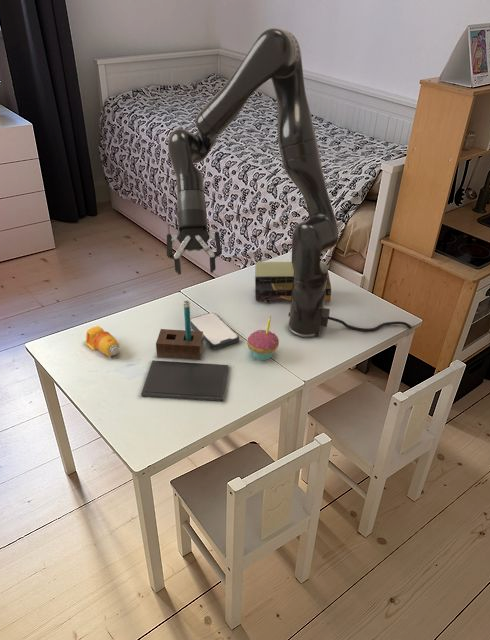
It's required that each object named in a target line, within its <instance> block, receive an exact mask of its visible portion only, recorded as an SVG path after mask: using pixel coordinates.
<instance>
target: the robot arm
mask: <svg viewBox="0 0 490 640" xmlns="http://www.w3.org/2000/svg"><path fill="white" fill-rule="evenodd" d="M300 46H301V45H300V44H299V40H298V39H297V38H296V36H295V35H294V34H293V33H292V32H290V31H289V30H285V29H282V28H277V27H271V28H268V29H265V30H264V31H262V32H261V33H260V35H259V36H258V37H257V39H256V40H255V42H254V43H253V44H252V46H251V48H250V49H249V50H248V51H247V54H246V55H245V57H244V58H243V60H242V61H241V63H240V64H239V65H238V67H237V69H236V70H235V71H234V72H233V74H232V75H231V76H230V78H228V80H227V81H226V82H225V83H224V84H223V86H222V87H221V88H220V90H218V92H217V93H216V94H214V96H213V97H212V98H211V99H210V100H209V101H208V102H207V104H205V106H204V107H202V109H201V110H200V111H199V112H198V113H197V115H196V117H195V120H194V123H195V126H196V128H197V132H195V133H193V132H192V131H189V130H187V129H184V128H177V129H174V130H173V131H172V132H171V133H170V135H169V138H168V141H167V150H168V151H167V152H168V155H169V159H170V162H171V165H172V169H173V172H174V175H175V177H176V178H175V179H176V211H177V212H176V213H177V226H178V232H177V234H171V233H167V234H166V256H167V258H168V259H170V260H174V271H175V273H176V274H177V276H181V275H182V265H181V260H180V258H181V257H182V256H183V255H184V254H185V253H186V251H187V252H192V251H197V252H198V251H201V250H203V251H204V253H206V254H207V255H208V257H209V271H210V274H214V272H215V271H216V269H217V267H216V258H218V257H221V256H222V246H221V237H220V232H219V231H215V232H211V233H209V232H208V221H207V219H208V218H207V203H206V201H207V200H206V197H205V184H204V183H205V182H204V175H203V172H202V171H201V170H200V169H199V168H197V166H195V164H199V163H200V162H202V161H204V160H205V159H206V158H207V156H208V155H209V153H210V152H211V150H212V148H213V146H214V145H215V143H216V141H217V139H218V137H219V136H220V135H221V134H222V133H223V132H224V131H225V130H226V129H227V128H228V127H229V126H230V125H231V124H232V123H233V122H234V121H235V119H236V118H237V117H238V115H239V114H240V112H241V111H242V110H243V108H244V106H245V104H246V103H247V101H248V100H249V99H250V97H251V96H252V95H253V94H254V93H256V91H257V90H258V89H259V88H260V87H261V86H263V85H264V84H265V83H266V82H267V81H269V80H271V82H272V86H273V90H274V93H275V98H276V105H277V128H276V129H277V143H278V148H279V153H280V157H281V161H282V166H283V169H284V171H285V173H286V174H287V176H288V177H289V179H290V180H291V181H292V183H293V184H294V185H295V186H296V188H297V189H298V190H299V192H300V193H301V195H302V198H303V199H304V202H305V205H306V209H307V214H308V219H305V220H303V221H301V222H298V224H297V225H296V226H295V228H294V230H293V233H292V237H291V238H292V239H291V262H292V267H293V270H294V274H293V285H292V297H291V301H290V309H289V312H288V317H289V320H288V330H289V332H290V333H291V334H292V335H294V336H296V337H300V338H314V337H317V338H319V337H320V333H321V330H322V327H325V328H327V327H328V323H329V321H333V322H336V323H339V324H341V325H343V326H344V327H346V328H348V329H350V330H353V331H358V332H374V331H377V330H379V329H381V328H383V327H386V326H394V325H403V326H405V327H407V328H408V329H412V328H413V327H412V325H410V324H409V323H407V322H406V321H398V320H397V321H387V322H383V323H380V324H379V325H377V326H374V327H371V328H370V327H369V328H368V327H367V328H366V327H365V328H364V327H363V328H362V327H357V326H353V325H350V324H347V323H346V322H345V321H344V320H341V319H339V318H335V317H332V316H330V311H331V308H329V307H328V308H327V307H325V304H326V303H325V291H326V283H327V276H328V274H329V267H328V266H327V264H326V265H325V264H324V263H322V262H323V261H321V255H322V254H323V253H325V252H327V251H329V250H332V249H333V248H334V247H335V246H336V245H337V244H338V241H339V233H340V232H339V227H338V223H337V219H336V215H335V212H334V209H333V205H332V202H331V199H330V195H329V192H328V187H327V183H326V179H325V174H324V171H323V166H322V162H321V156H320V150H319V145H318V140H317V134H316V131H315V127H314V123H313V117H312V112H311V108H310V105H309V102H308V98H307V94H306V85H305V77H304V70H303V59H302V58H303V57H302V51H301V50H302V49H301V47H300ZM210 239H211V240H212V242H215V249H216V251H214V252H213V250H212V249H211V248H210V246H209V245H208V244H207V243H208V241H209V240H210ZM176 240H177V241H178V242H179V244H180V246H179V247H178V248H177V250H176V252H175V253H173V244H175V243H176Z"/></svg>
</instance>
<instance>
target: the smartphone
mask: <svg viewBox="0 0 490 640" xmlns="http://www.w3.org/2000/svg"><path fill="white" fill-rule="evenodd" d="M190 321H191V328H192V329H193V331H203V341H204V342H206V344H207V345H208V346H209V347H210V348H211V349H213V350H214V349H215V350H216V349H220V348H223V347H226V346H230V345H232V344H233V345H234V344H237V343H239V341H240V337H239V335H238V334H237V333H236V332H235V331H234V330H233V329H232V328H231V327H230V326H229V325H228V324H227V323H226V322H225V321H223V320H222V319H221V318H220V317H219V316H218V314H216V313H215V312H207V313H205V314H201V315H198V316H194V317H190Z"/></svg>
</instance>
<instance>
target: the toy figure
mask: <svg viewBox="0 0 490 640" xmlns="http://www.w3.org/2000/svg"><path fill="white" fill-rule="evenodd" d="M85 345H86V346H87V347H89V348H90V349H91V350H93V351H97V350H98V351H99V352H100V353H102V354H103V355H105V356H106V357H113V356H115V355H117V354H118V353H119V352H120V344H119V342H118V340H117V339H116V338H115V337H114V336H113V335H112V334H111V333H110V332H109V331H105V330H104V329H103V328H102V327H100V326H99V325H96V326H93V327H90V328H88V329H87V330H86V335H85Z"/></svg>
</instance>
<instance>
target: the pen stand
mask: <svg viewBox="0 0 490 640" xmlns="http://www.w3.org/2000/svg"><path fill="white" fill-rule="evenodd" d="M191 340H192V341H186V334H185V329H184V330H183V329H169V328H160V330H159V333H158V336H157V339H156V342H155V349H156V357H157V358H166V359H179V360H180V359H183V360H195V361H196V360H198V361H199V360H201V357H202V353H203V349H204V339H203V331H195V330H191Z"/></svg>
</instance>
